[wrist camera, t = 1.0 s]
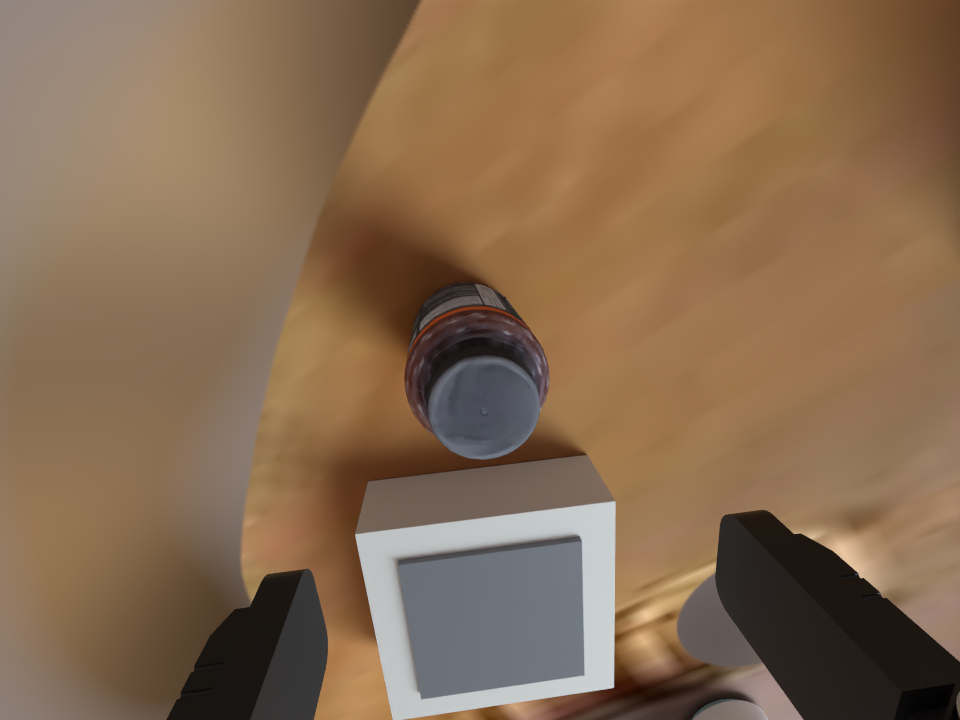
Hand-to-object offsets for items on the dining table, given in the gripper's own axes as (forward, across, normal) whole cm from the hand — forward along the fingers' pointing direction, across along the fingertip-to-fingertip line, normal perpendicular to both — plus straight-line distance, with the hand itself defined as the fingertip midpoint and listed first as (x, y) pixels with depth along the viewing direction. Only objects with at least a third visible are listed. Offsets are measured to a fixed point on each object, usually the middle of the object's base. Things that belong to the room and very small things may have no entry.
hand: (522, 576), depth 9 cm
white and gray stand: (+19, 0, +16) cm, 25 cm away
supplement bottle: (+19, 0, 0) cm, 19 cm away
